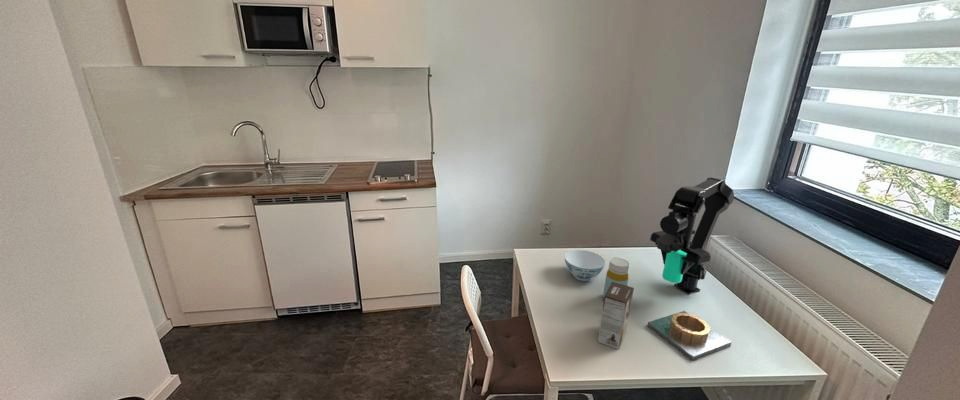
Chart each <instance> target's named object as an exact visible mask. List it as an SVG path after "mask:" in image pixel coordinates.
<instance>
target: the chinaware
mask: <svg viewBox="0 0 960 400" xmlns="http://www.w3.org/2000/svg"><path fill="white" fill-rule="evenodd" d="M564 263H565V266H566V269H568V271H569V273H571V275H573V277H574V278H575V279H576V280H578V281H582V282H587V281H591V280H592V279H593V278H595V277H597V276H598V275H600V274H601V272H602V271H603V269H604V267H605V265H606V260H605V258H604V257H603V256H602V255H601V254H598V253H596V252H594V251H591V250H586V249H585V250H584V249H573V250H569V251H567V252H565V254H564Z"/></svg>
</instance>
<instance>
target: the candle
mask: <svg viewBox="0 0 960 400" xmlns="http://www.w3.org/2000/svg"><path fill="white" fill-rule="evenodd" d="M686 255H687V253H685V252H683V251H681V250H678V251H676V252H674V251H671V252H670V253H667V255H666V260H665V265H664V264H663V270H662V274H661V276H662V278H663V280H664V281H666V282H668V283H673V284H676V283H680V282H681V281H682V277H683V275H682V274H681V270H682V265H683V259H682V257H686Z"/></svg>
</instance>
